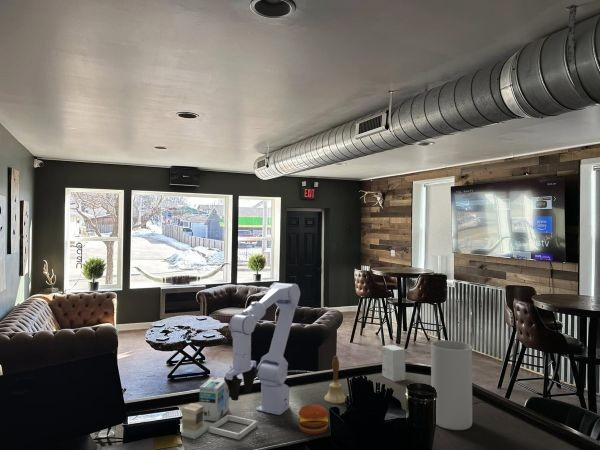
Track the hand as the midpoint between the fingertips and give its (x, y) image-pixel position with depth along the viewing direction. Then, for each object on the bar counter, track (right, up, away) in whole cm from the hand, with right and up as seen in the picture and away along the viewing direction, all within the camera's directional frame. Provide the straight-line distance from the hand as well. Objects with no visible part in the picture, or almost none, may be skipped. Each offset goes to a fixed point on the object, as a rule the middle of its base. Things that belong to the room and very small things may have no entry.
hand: (241, 395), depth 135 cm
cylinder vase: (+68, -10, +3) cm, 69 cm away
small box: (+59, -11, +46) cm, 75 cm away
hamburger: (+23, -10, -1) cm, 25 cm away
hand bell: (+32, -10, +22) cm, 40 cm away
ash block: (-15, -8, -3) cm, 17 cm away
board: (-15, -9, -3) cm, 18 cm away
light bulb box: (-10, -10, +8) cm, 17 cm away
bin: (-2, -9, -3) cm, 10 cm away
